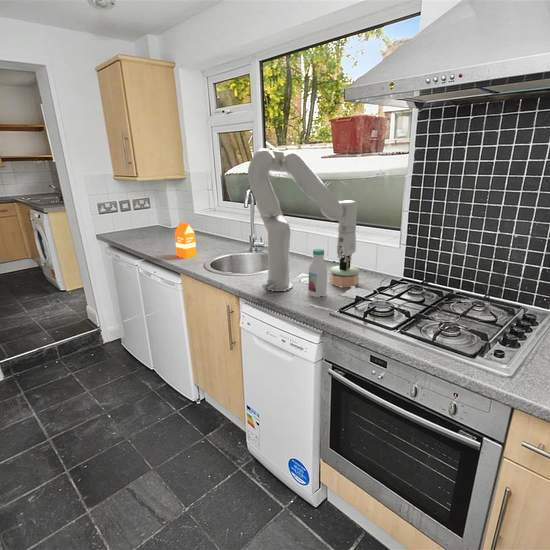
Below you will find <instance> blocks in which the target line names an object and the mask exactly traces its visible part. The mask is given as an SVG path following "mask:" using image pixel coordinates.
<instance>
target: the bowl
mask: <svg viewBox="0 0 550 550" xmlns="http://www.w3.org/2000/svg"><path fill="white" fill-rule="evenodd" d="M359 275H360V273H358V274H356V275H351V276H343V275H337V274H334V273H332V272H331V271H330V273H329V282H330V284H331V283H332V284H333V285H337V286H342V287H350V288H351V286H355V285H358V283H359ZM332 284H331V285H332ZM333 285H332V286H333ZM355 287H356V286H355Z"/></svg>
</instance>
